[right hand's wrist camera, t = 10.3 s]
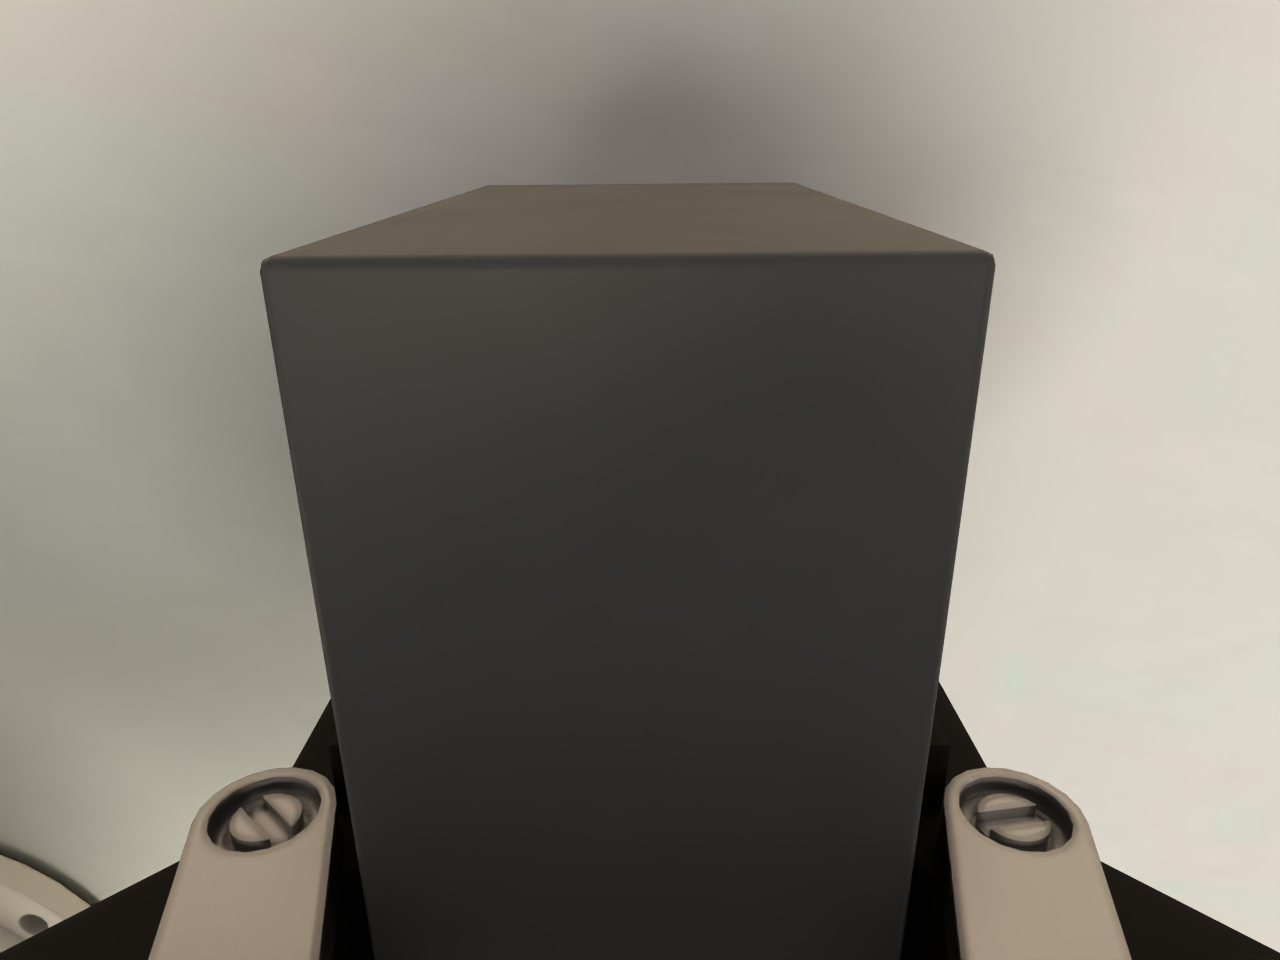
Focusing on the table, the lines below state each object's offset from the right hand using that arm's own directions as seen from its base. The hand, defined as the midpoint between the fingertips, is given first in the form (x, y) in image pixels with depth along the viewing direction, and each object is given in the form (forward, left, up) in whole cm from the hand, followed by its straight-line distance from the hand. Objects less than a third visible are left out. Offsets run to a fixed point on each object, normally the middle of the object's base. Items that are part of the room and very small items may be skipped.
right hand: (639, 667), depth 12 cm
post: (+30, -6, -2) cm, 31 cm away
